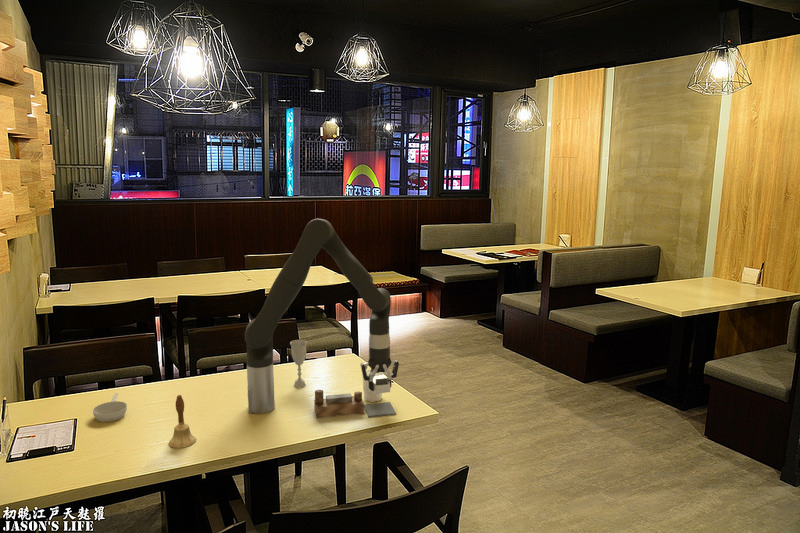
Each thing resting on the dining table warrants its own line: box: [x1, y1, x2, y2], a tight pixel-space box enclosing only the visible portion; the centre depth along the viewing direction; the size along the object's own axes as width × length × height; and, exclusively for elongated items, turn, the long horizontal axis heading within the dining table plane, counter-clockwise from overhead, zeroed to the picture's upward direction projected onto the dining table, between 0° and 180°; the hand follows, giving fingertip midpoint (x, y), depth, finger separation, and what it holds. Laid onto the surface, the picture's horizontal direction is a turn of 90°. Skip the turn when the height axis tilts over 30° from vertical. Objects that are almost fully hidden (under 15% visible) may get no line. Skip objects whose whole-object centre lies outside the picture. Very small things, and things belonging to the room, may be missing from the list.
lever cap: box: [373, 374, 391, 394], centre depth 209 cm, size 9×6×4 cm, turn 14°
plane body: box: [313, 389, 365, 419], centre depth 209 cm, size 17×7×8 cm, turn 104°
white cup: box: [361, 369, 384, 402], centre depth 221 cm, size 8×8×10 cm
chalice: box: [289, 339, 308, 389], centre depth 232 cm, size 7×7×18 cm
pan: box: [92, 392, 128, 423], centre depth 208 cm, size 11×18×4 cm, turn 16°
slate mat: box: [364, 401, 397, 418], centre depth 211 cm, size 10×10×1 cm
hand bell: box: [168, 394, 197, 449], centre depth 185 cm, size 8×8×16 cm
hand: (380, 389), depth 210 cm, fingers closed on lever cap, 5 cm apart
